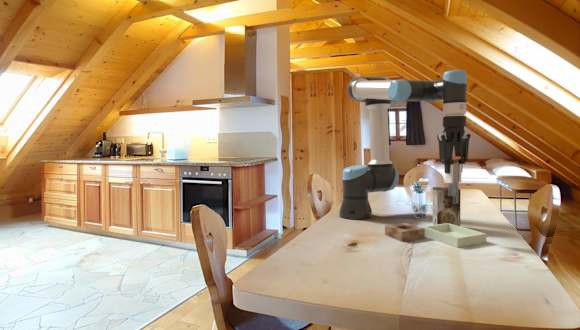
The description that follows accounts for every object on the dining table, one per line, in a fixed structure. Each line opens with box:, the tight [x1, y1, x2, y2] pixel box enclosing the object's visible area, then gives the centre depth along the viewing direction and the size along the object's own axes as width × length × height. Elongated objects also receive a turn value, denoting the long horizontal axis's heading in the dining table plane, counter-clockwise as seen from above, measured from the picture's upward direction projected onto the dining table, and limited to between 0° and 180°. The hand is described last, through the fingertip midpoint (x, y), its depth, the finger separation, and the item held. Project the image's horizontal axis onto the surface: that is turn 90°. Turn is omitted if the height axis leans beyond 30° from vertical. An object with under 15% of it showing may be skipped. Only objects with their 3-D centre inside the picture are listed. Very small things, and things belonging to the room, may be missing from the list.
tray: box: [420, 223, 487, 248], centre depth 130 cm, size 17×13×3 cm
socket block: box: [384, 222, 426, 243], centre depth 134 cm, size 10×10×4 cm
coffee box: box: [432, 186, 461, 226], centre depth 145 cm, size 9×6×16 cm
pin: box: [447, 155, 461, 196], centre depth 128 cm, size 4×4×14 cm
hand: (453, 182), depth 129 cm, fingers closed on pin, 3 cm apart
